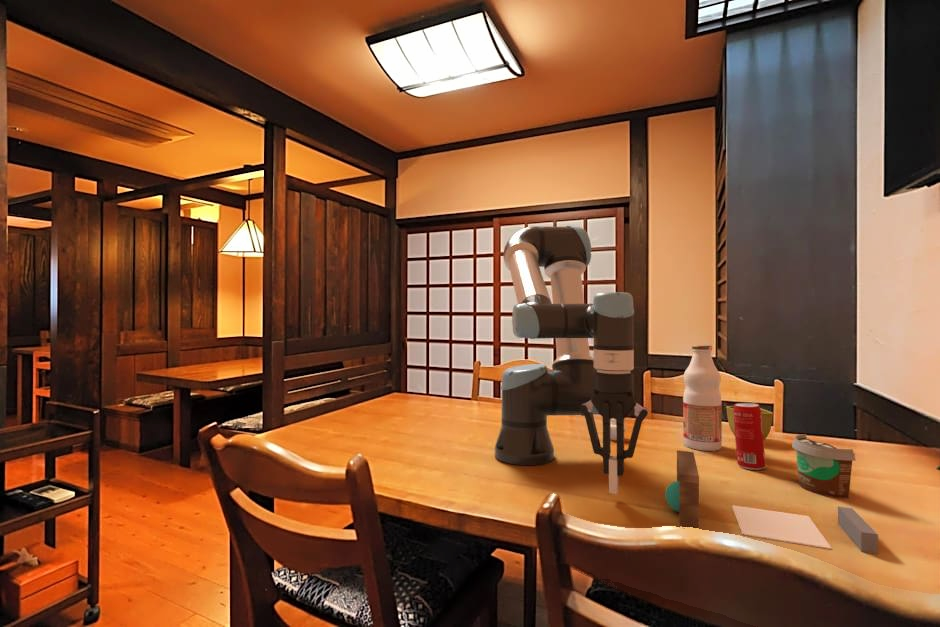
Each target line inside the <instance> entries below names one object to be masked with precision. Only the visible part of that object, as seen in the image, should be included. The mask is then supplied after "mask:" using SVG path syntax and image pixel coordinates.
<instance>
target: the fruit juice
mask: <svg viewBox="0 0 940 627" xmlns="http://www.w3.org/2000/svg"><path fill="white" fill-rule="evenodd" d="M691 350H692V357H691V360H690V362H689V365H688V366H687V368H686V369H685V371H684V373H683V380H684V384H685V388H684V392H683V396H682V404H683V405H682V406H683V407H682V408H683V411H682V412H683V414H682V416H683V419H682V420H683V421H682V422H683V428H682V430H683V434H682V435H683V444H684V446H686V447H687V448H689V449H693V450H697V451H704V452H716V450H717V451H719V450H721V448H722V441H723V440H722V438H723V437H722V436H723V433H722V431H723V429H722V426H723V425H722V422H723V420H722V417H723V416H722V414H723V412H722V408H723V406H722V395H721V392H720V385H721V380H722V378H721V373H720V372H719V370H718V369H717V367H716V365H715V363H714V360H713V357H712V351H713V346H712V345H711V344H693V345H692V347H691Z"/></svg>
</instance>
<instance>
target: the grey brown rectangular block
mask: <svg viewBox="0 0 940 627" xmlns="http://www.w3.org/2000/svg"><path fill="white" fill-rule="evenodd" d="M699 474H700V473H699V470H698V466H697V462H696V457H695V453H694V451H686V450H677V449H676V481H679V512H678V516H679V517H678V519H679V520H678V525H679V527H680V526H682V527H693V528H699V529H700V475H699Z"/></svg>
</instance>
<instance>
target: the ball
mask: <svg viewBox="0 0 940 627" xmlns="http://www.w3.org/2000/svg"><path fill="white" fill-rule="evenodd" d="M664 495H665V501H666V502H667V504H668V506H669V508H671V509H672V510H673V511H675V512H677V513H679V481H677V480H676V481H674V482H671V483H670V484H668V485H667V487H666V489H665V494H664Z"/></svg>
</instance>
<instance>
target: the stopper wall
mask: <svg viewBox="0 0 940 627" xmlns="http://www.w3.org/2000/svg"><path fill="white" fill-rule="evenodd" d="M837 525H839V527H840V528H841V529H842V530H843V531H844V533H845V534H846V535H847V537H848V538H849V539H850V540H851V541H852V542H853V543H854V545H855V546H856V547H857V549H859V551H861V552H864V553H868V552H869V554H874V553H875V555H878V554H879V545H878V543H879V541H878V540H879V538H878V537H879V536H878V535H879V534H878V533H877V532H876V531H875V530H874V529H873V528H872V527H871V526H870V525H869V524H868V522H866V521H865V520H864V518H862V517H861V515H860V514H858V512H856V511H855V510H854V509H853V507H846V506H845V507H844V506H837Z"/></svg>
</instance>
